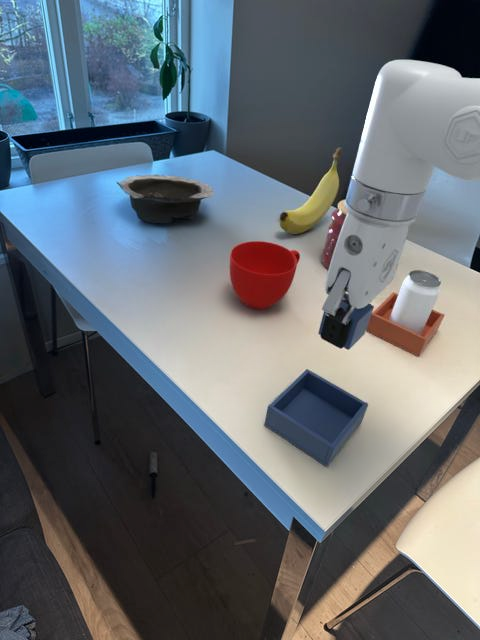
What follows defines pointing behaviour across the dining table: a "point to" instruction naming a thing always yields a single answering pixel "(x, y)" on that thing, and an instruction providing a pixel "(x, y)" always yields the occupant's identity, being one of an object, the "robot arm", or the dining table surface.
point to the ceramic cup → (262, 272)
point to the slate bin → (315, 416)
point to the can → (416, 300)
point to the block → (354, 323)
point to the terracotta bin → (402, 328)
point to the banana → (313, 203)
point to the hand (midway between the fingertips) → (342, 332)
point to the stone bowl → (164, 196)
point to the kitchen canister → (334, 233)
